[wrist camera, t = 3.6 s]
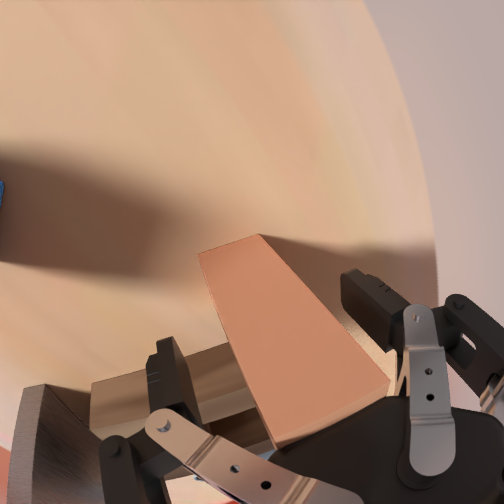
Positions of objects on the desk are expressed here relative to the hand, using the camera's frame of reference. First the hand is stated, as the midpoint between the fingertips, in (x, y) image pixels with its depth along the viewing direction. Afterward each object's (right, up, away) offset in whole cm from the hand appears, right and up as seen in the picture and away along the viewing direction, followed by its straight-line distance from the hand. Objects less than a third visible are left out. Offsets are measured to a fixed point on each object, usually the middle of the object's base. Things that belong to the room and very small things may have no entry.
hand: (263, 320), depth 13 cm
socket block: (-4, -8, +8) cm, 12 cm away
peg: (-1, +2, +4) cm, 5 cm away
